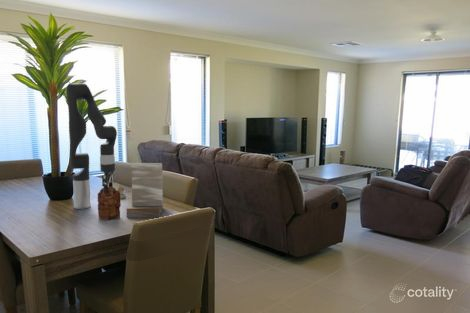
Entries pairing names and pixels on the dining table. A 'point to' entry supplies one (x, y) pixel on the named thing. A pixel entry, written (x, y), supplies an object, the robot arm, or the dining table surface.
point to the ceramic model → (120, 189)
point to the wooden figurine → (109, 204)
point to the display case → (146, 190)
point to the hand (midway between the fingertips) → (108, 191)
